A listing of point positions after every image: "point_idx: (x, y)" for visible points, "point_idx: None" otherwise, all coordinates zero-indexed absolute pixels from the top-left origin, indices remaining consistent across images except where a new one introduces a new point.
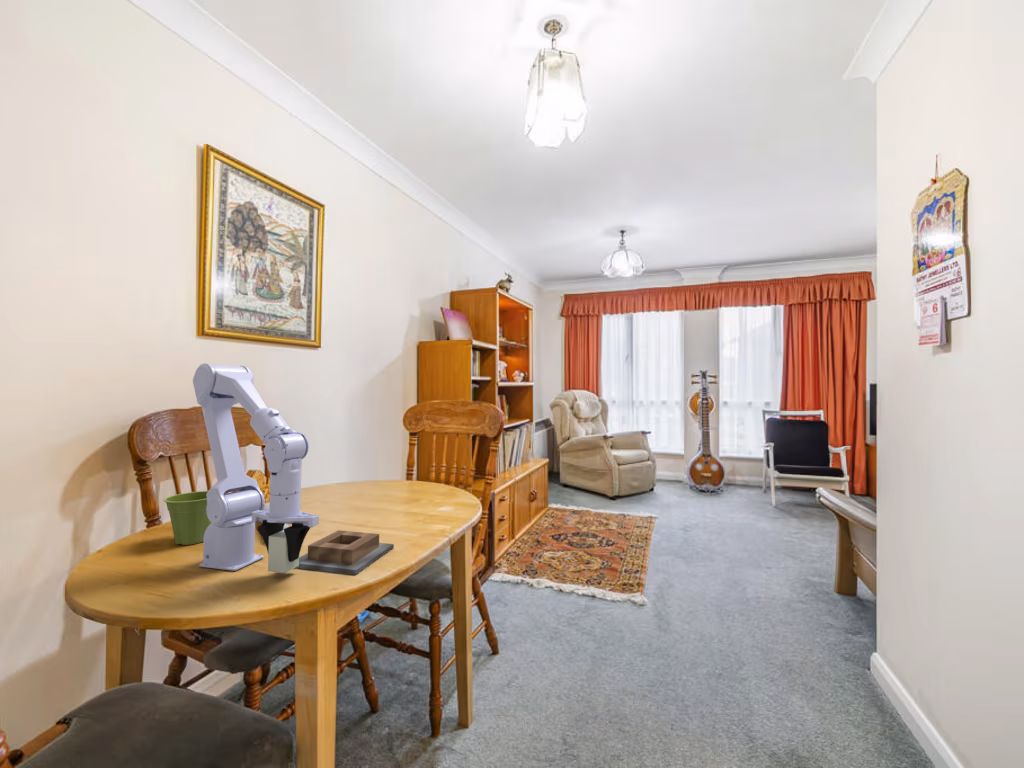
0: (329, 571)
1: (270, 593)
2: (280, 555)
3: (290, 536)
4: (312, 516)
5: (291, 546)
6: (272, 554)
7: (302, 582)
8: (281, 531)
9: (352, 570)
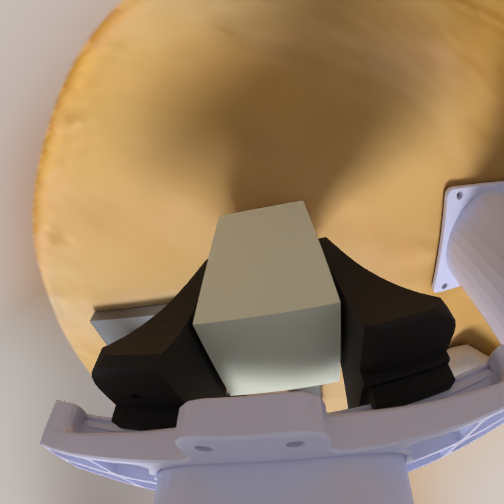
0: (163, 305)
1: (168, 113)
2: (238, 249)
3: (144, 335)
4: (69, 460)
5: (175, 299)
6: (289, 239)
7: (157, 223)
8: (333, 371)
9: (98, 319)
